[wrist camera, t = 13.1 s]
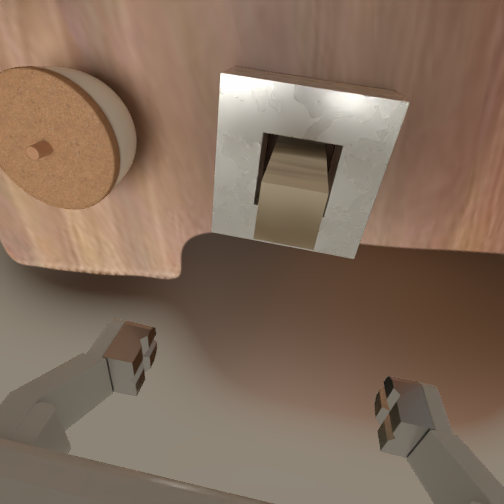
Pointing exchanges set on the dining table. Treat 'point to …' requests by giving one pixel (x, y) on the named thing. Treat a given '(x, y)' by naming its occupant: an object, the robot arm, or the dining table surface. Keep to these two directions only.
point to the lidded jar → (63, 135)
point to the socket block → (310, 128)
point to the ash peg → (293, 193)
